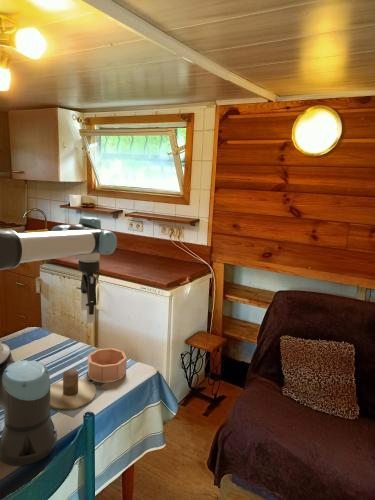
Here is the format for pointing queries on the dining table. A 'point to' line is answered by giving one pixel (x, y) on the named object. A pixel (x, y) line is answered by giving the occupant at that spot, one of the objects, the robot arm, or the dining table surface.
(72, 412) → the mat
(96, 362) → the bowl
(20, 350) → the dining table surface
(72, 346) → the dining table surface
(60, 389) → the lid
